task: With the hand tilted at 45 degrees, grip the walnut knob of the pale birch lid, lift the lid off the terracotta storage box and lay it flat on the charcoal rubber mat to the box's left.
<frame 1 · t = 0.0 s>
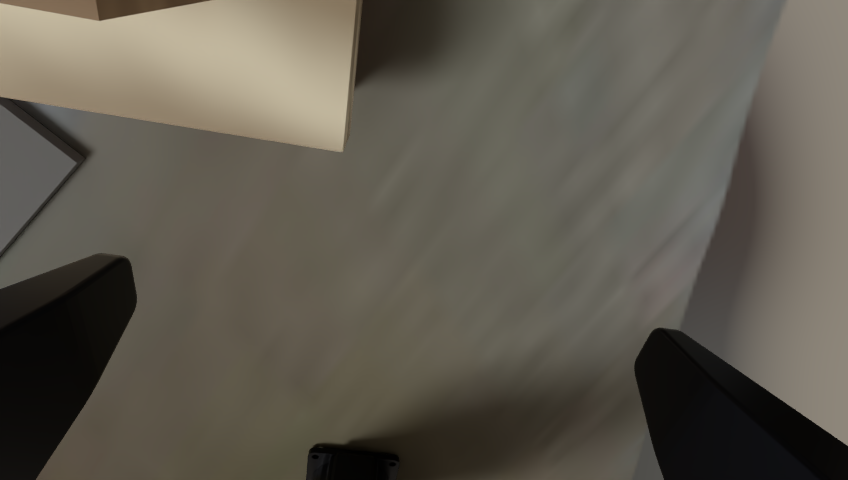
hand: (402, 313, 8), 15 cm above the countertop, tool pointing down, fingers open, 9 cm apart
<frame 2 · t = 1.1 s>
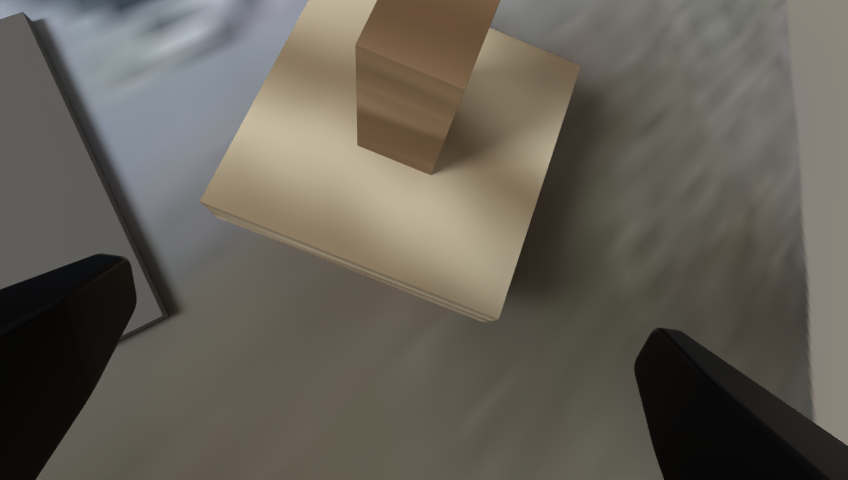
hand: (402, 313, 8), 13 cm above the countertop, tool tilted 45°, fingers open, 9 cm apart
lid: (405, 138, 19), point 4 cm above the countertop, touching storage box
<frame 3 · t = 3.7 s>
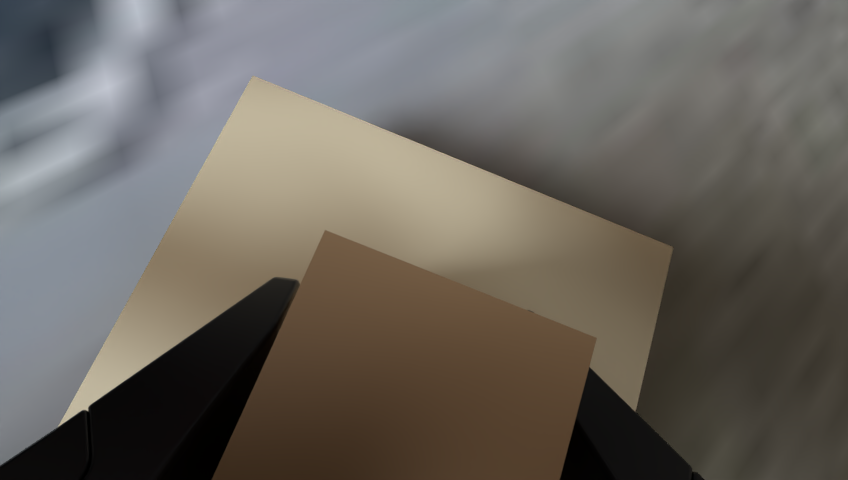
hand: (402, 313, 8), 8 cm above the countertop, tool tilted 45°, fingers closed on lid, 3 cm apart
lid: (380, 383, 11), point 4 cm above the countertop, touching gripper, storage box
when the fingers open (6 cm above the countertop, at t = 9.1 s): lid drops 1 cm, resting on mat.
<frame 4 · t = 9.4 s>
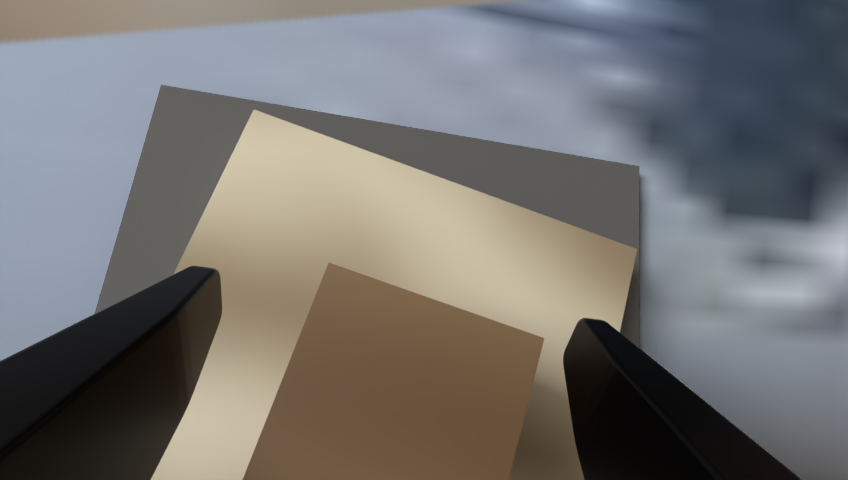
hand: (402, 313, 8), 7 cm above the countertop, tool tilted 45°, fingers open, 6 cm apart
mat: (378, 376, 14), on the countertop
lid: (378, 381, 12), point 2 cm above the countertop, touching mat
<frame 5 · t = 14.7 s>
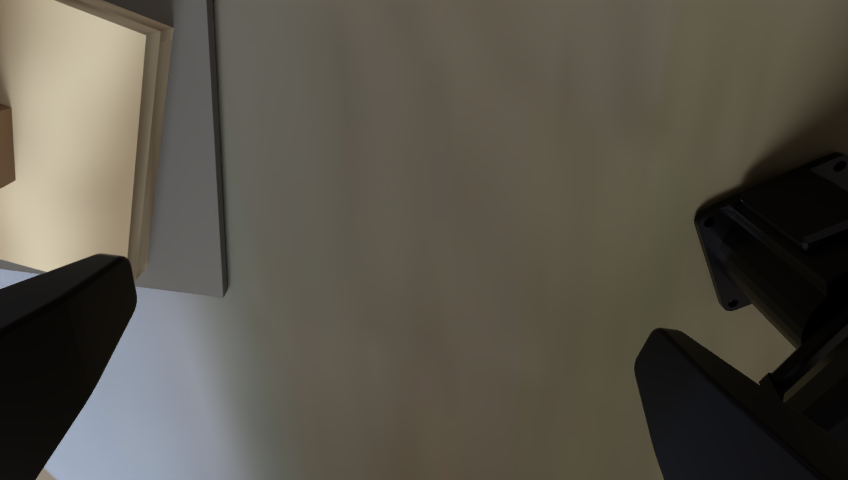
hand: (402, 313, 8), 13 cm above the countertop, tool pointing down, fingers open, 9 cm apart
mat: (19, 110, 19), on the countertop
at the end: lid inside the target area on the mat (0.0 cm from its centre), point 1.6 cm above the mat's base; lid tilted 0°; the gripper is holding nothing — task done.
